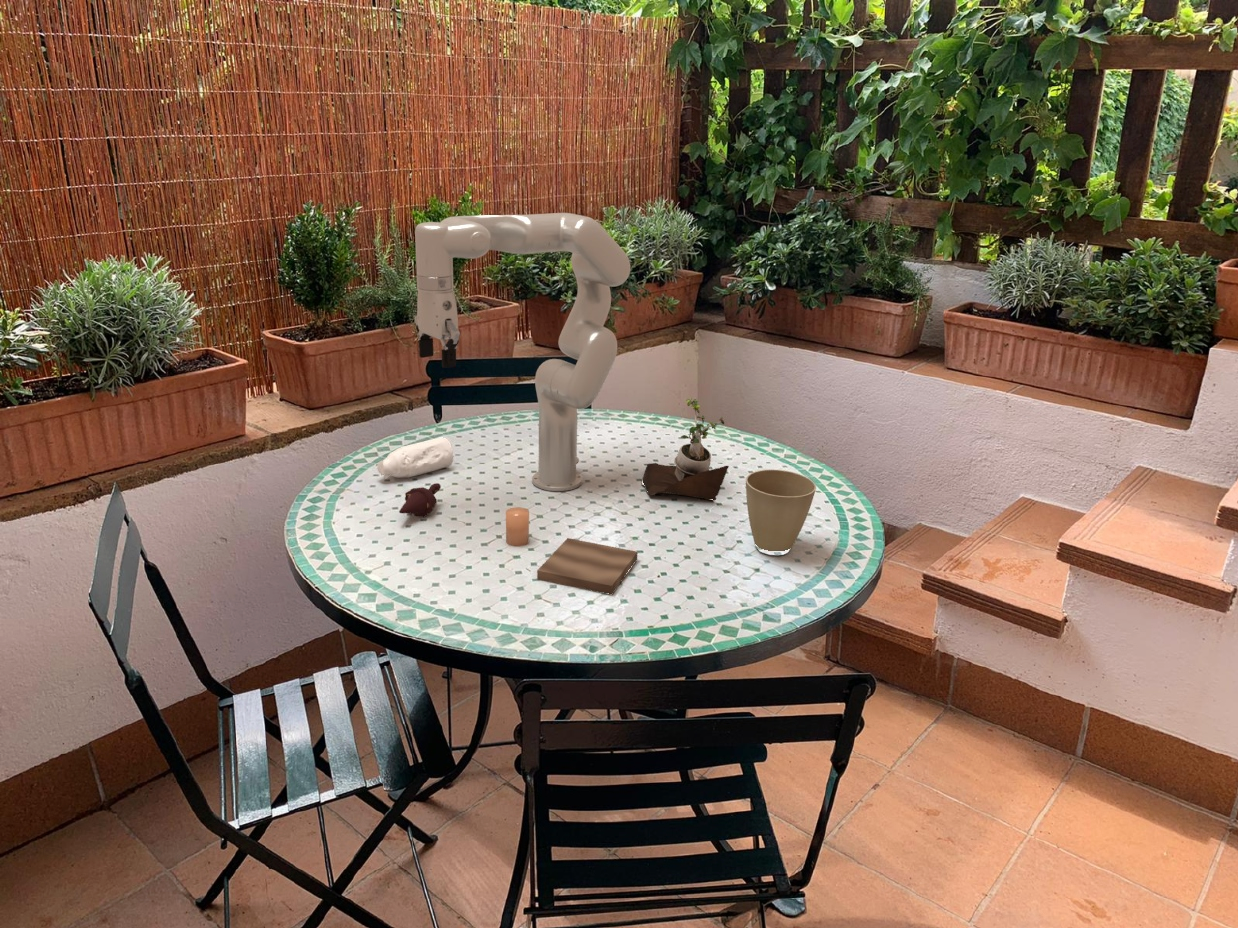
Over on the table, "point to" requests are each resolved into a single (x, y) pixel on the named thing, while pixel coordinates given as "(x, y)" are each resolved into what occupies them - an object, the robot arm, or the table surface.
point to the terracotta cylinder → (517, 526)
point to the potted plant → (688, 467)
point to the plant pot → (777, 507)
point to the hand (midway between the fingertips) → (437, 361)
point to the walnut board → (587, 565)
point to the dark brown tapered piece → (420, 500)
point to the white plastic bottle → (417, 459)
